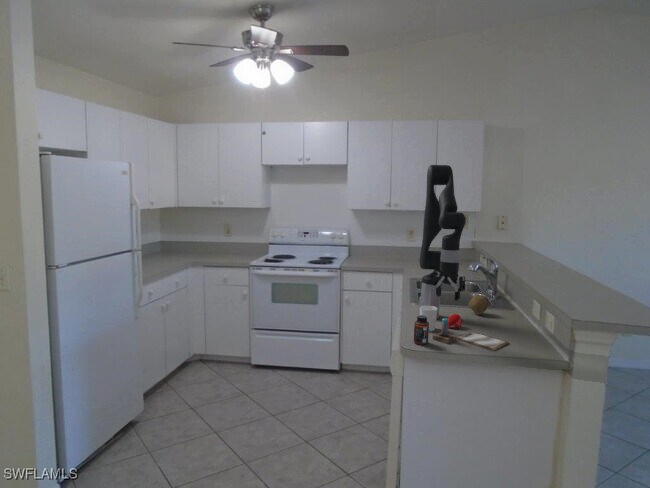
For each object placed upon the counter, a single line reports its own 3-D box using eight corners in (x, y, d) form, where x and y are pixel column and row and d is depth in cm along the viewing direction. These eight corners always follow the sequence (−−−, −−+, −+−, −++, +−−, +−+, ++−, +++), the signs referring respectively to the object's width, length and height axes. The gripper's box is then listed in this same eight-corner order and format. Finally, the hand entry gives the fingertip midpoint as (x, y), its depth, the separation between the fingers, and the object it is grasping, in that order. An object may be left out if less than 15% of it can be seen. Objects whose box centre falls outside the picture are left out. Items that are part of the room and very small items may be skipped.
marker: (439, 339, 187) (440, 319, 186) (443, 338, 189) (444, 317, 188) (445, 341, 185) (446, 320, 184) (448, 339, 187) (449, 319, 186)
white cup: (427, 333, 195) (428, 311, 194) (414, 328, 202) (415, 306, 201) (439, 330, 200) (441, 308, 198) (427, 325, 206) (428, 304, 205)
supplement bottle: (428, 345, 180) (429, 319, 178) (413, 344, 181) (414, 318, 179) (427, 340, 185) (429, 314, 184) (413, 339, 186) (414, 314, 185)
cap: (455, 317, 209) (446, 311, 207) (465, 316, 204) (455, 310, 202) (451, 332, 206) (442, 327, 204) (460, 332, 201) (451, 326, 199)
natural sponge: (464, 314, 226) (466, 295, 224) (473, 310, 232) (474, 292, 230) (481, 318, 219) (483, 298, 218) (489, 314, 225) (491, 295, 224)
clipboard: (454, 338, 189) (454, 336, 189) (470, 332, 197) (470, 330, 197) (493, 351, 175) (494, 348, 175) (509, 343, 184) (509, 341, 184)
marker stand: (432, 339, 188) (432, 335, 187) (441, 335, 192) (442, 331, 192) (446, 343, 182) (446, 339, 182) (456, 340, 187) (456, 336, 187)
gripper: (430, 258, 185) (428, 296, 188) (460, 263, 175) (457, 303, 177) (440, 257, 190) (438, 293, 193) (470, 261, 180) (467, 300, 182)
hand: (447, 298), depth 185 cm, fingers open, 8 cm apart
